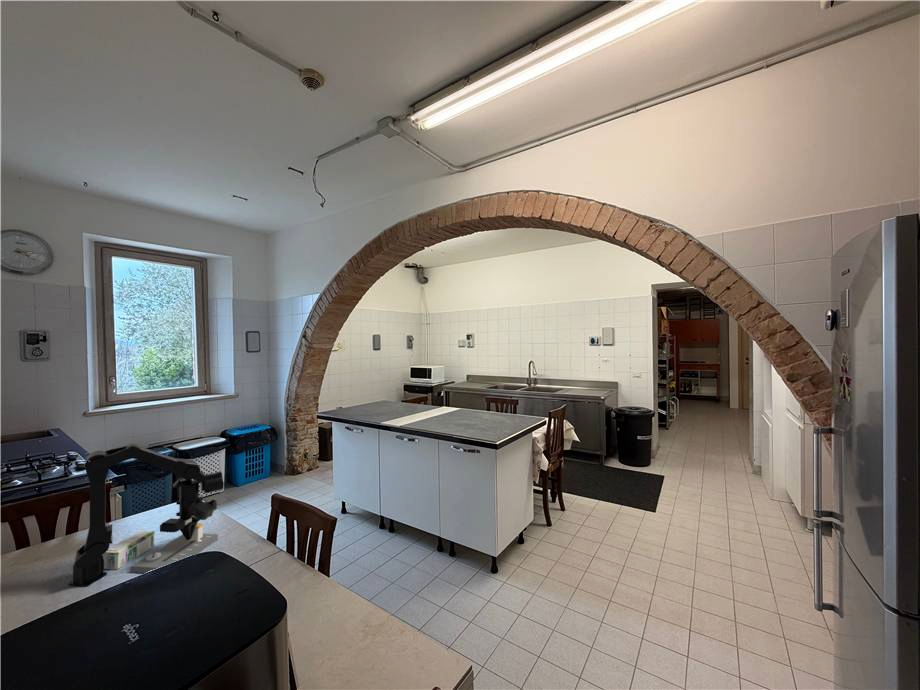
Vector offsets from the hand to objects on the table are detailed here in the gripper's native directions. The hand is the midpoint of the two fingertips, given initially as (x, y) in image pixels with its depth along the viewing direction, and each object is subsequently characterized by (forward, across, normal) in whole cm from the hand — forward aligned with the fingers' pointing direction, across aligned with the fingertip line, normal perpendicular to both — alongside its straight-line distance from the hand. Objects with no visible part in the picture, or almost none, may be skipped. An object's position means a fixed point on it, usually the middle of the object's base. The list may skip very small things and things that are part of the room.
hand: (188, 539), depth 136 cm
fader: (+1, +4, 0) cm, 4 cm away
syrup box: (+1, +1, +17) cm, 17 cm away
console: (+4, -3, +2) cm, 5 cm away
